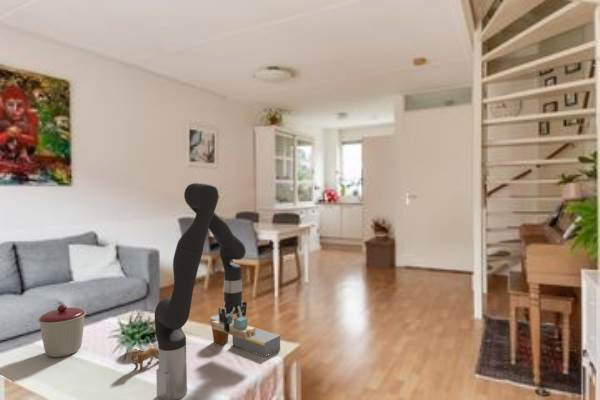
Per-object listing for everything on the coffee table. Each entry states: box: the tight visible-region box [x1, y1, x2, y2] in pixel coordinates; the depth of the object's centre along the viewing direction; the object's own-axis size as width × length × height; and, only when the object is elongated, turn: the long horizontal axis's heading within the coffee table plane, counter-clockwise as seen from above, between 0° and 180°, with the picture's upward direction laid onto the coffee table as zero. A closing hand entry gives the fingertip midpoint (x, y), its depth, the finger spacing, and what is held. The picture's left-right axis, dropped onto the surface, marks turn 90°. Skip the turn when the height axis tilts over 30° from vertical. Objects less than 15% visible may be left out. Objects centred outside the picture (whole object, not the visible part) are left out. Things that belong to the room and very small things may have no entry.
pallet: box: [211, 319, 256, 340], centre depth 161 cm, size 6×20×3 cm, turn 52°
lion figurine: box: [128, 347, 159, 372], centre depth 154 cm, size 15×5×9 cm, turn 152°
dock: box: [232, 327, 281, 357], centre depth 172 cm, size 10×20×6 cm, turn 52°
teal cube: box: [233, 316, 249, 330], centre depth 158 cm, size 4×4×4 cm
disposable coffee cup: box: [209, 313, 229, 345], centre depth 177 cm, size 10×10×12 cm
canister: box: [37, 304, 87, 358], centre depth 168 cm, size 18×18×21 cm
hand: (233, 329), depth 161 cm, fingers closed on pallet, 6 cm apart
